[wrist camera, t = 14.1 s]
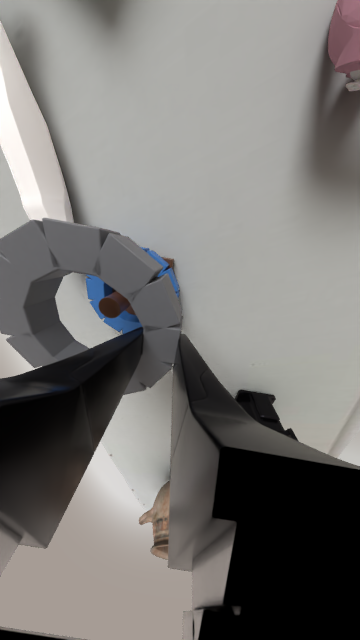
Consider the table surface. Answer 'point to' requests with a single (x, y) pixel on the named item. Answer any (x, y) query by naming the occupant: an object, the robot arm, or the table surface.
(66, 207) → the toy fish
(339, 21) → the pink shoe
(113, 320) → the blue ring
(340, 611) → the robot arm
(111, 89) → the table surface
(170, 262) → the peg stand
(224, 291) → the table surface
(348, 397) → the table surface
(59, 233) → the grey ring
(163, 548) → the cooking pot
